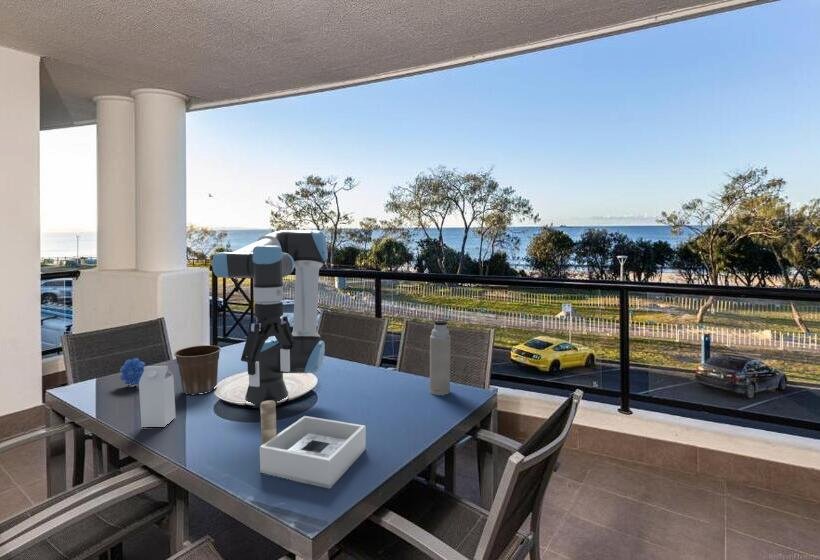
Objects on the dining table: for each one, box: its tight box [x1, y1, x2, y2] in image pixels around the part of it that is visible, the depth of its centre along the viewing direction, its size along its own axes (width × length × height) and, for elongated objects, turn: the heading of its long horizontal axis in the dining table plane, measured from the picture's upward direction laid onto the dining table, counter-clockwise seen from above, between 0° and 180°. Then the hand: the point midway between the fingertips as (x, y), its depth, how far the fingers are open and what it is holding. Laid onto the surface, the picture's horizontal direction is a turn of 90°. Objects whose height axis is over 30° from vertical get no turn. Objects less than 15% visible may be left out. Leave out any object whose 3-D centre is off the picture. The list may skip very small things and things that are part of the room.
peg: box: [259, 400, 277, 446], centre depth 116 cm, size 4×4×14 cm
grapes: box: [119, 357, 146, 386], centre depth 168 cm, size 12×7×12 cm, turn 82°
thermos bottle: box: [429, 320, 452, 396], centre depth 162 cm, size 8×8×28 cm
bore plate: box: [288, 433, 346, 458], centre depth 112 cm, size 12×12×3 cm
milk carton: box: [138, 365, 176, 428], centre depth 133 cm, size 7×7×19 cm
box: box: [259, 415, 367, 490], centre depth 111 cm, size 20×20×7 cm
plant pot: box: [174, 344, 222, 395], centre depth 164 cm, size 16×16×16 cm
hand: (270, 378), depth 115 cm, fingers open, 13 cm apart
